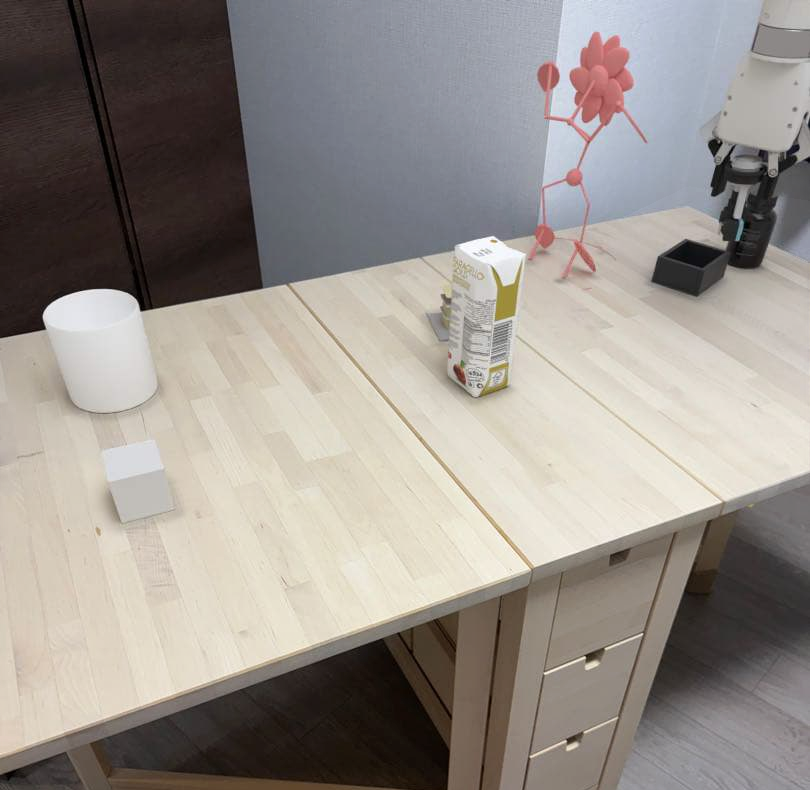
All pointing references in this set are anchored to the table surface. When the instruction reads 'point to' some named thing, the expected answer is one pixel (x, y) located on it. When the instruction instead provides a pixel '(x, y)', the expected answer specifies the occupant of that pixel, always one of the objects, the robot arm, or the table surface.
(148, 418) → the table surface
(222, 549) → the table surface
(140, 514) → the light grey cube
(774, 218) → the supplement bottle
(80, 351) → the cup
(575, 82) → the figurine
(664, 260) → the open box
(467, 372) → the juice carton
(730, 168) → the push button
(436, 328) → the stacked layers on plate
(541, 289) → the table surface
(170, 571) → the table surface
